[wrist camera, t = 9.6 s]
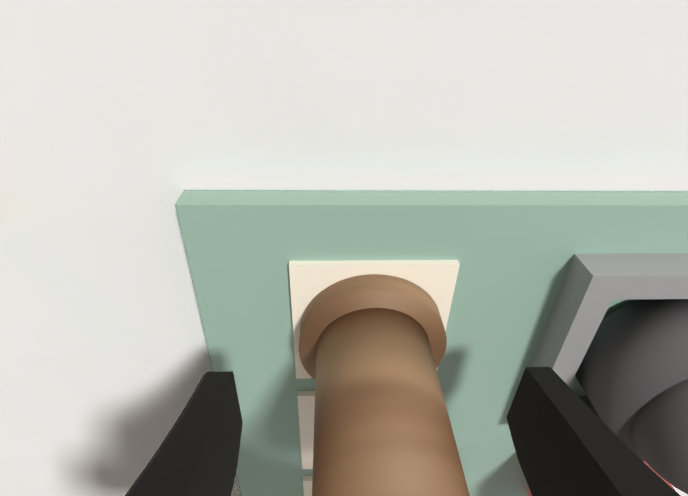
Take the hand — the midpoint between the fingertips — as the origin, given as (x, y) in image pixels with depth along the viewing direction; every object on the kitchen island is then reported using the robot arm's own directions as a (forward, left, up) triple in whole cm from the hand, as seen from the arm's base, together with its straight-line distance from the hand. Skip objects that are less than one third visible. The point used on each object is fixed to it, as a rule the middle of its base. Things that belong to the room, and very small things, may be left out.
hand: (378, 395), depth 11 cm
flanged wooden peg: (0, 0, -2) cm, 2 cm away
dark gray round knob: (-1, -9, -2) cm, 9 cm away
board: (-5, -4, -3) cm, 7 cm away
